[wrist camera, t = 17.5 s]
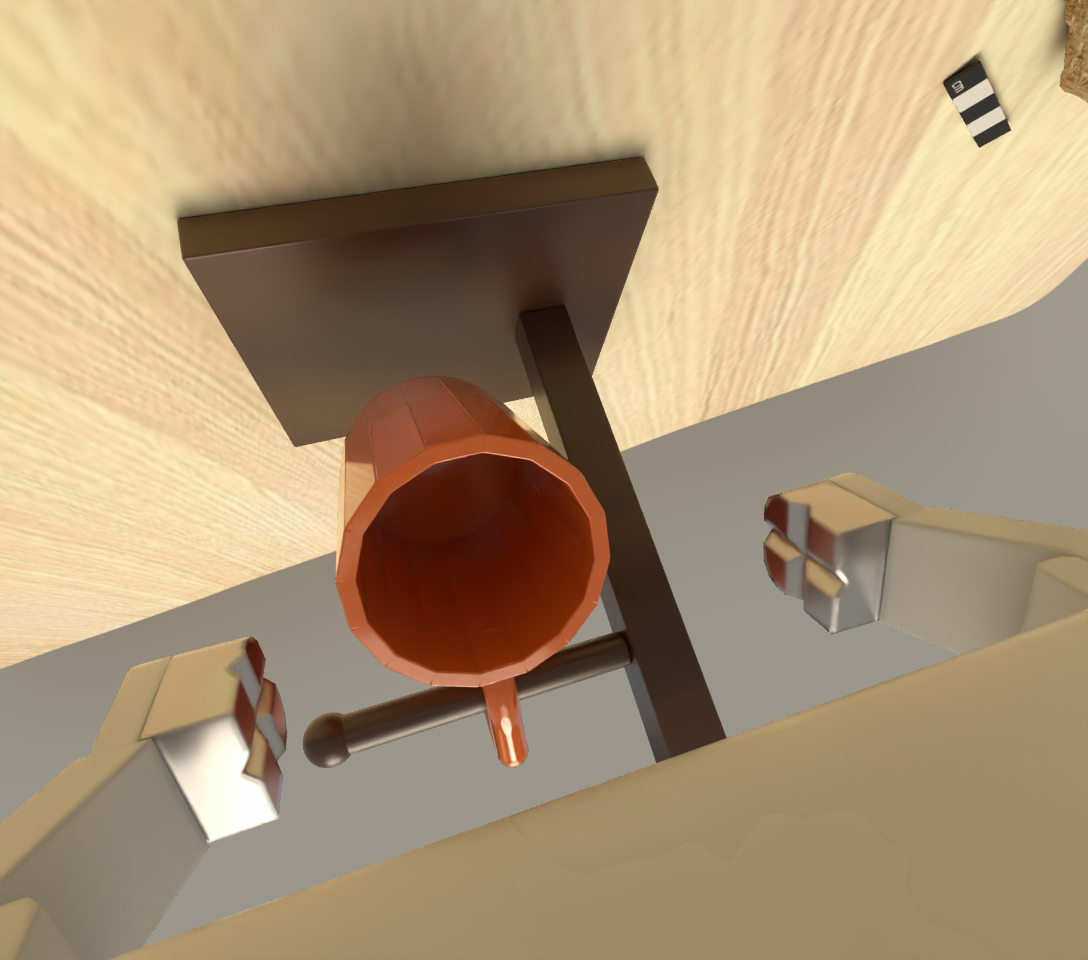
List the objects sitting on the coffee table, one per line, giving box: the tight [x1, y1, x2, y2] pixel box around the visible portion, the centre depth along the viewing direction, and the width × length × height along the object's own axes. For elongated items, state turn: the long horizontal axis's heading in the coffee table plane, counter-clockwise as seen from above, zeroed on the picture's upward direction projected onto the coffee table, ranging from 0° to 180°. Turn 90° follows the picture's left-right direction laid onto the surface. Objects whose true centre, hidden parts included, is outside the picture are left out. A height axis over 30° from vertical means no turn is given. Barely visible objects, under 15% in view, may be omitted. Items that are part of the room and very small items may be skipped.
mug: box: [335, 376, 610, 767], centre depth 20 cm, size 11×7×9 cm
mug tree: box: [177, 157, 726, 768], centre depth 24 cm, size 15×15×21 cm
